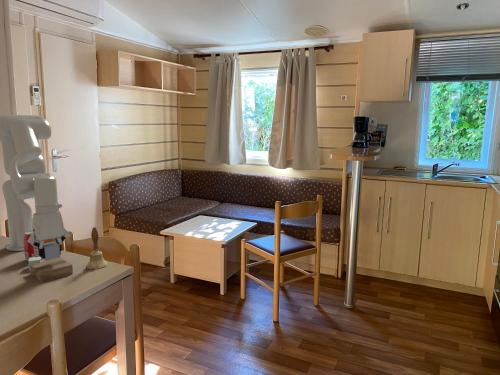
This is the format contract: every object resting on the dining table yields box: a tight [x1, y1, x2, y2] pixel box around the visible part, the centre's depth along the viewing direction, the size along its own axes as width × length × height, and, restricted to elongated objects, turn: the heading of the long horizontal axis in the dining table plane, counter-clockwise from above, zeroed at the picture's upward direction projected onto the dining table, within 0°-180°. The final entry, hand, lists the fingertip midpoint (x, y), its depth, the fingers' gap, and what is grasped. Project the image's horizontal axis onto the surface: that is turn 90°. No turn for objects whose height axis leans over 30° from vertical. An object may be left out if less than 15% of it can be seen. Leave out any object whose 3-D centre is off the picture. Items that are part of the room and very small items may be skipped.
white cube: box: [27, 257, 42, 272], centre depth 151 cm, size 4×4×4 cm
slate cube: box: [43, 241, 61, 261], centre depth 144 cm, size 5×5×5 cm
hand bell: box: [85, 226, 108, 270], centre depth 154 cm, size 8×8×16 cm
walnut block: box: [30, 257, 74, 283], centre depth 145 cm, size 11×11×4 cm
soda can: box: [23, 231, 43, 262], centre depth 159 cm, size 7×7×12 cm
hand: (50, 255), depth 144 cm, fingers closed on slate cube, 5 cm apart
